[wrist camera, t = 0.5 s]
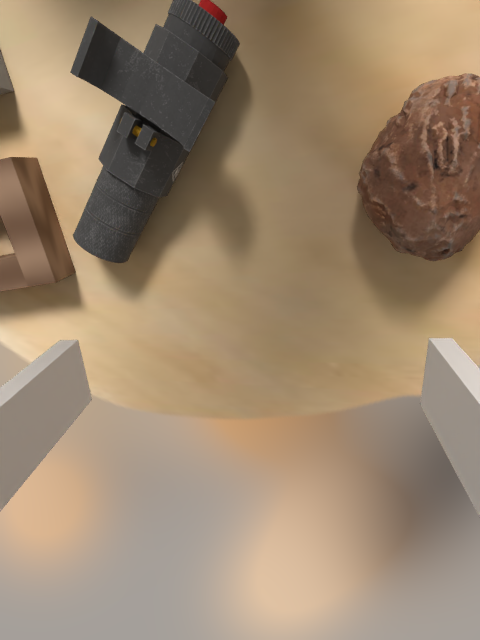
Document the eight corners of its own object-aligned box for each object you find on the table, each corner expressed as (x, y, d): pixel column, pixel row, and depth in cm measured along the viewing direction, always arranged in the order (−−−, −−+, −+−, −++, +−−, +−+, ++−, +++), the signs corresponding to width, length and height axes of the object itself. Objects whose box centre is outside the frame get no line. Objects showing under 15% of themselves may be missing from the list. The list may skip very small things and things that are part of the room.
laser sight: (74, 215, 42) (12, 230, 32) (172, -15, 33) (126, -83, 24) (153, 265, 43) (116, 293, 33) (268, 54, 34) (260, 14, 25)
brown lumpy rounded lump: (431, 260, 39) (475, 290, 30) (327, 215, 38) (338, 232, 29) (516, 122, 34) (601, 107, 25) (397, 68, 33) (438, 32, 24)
